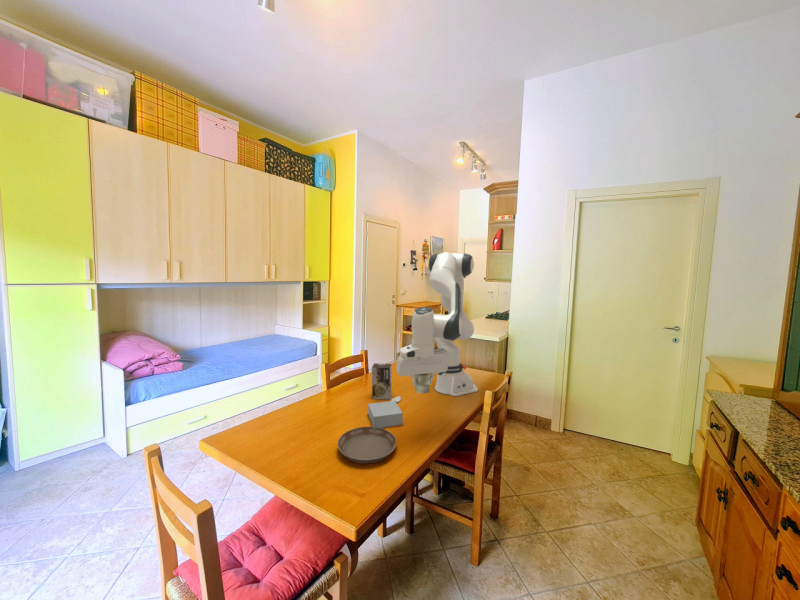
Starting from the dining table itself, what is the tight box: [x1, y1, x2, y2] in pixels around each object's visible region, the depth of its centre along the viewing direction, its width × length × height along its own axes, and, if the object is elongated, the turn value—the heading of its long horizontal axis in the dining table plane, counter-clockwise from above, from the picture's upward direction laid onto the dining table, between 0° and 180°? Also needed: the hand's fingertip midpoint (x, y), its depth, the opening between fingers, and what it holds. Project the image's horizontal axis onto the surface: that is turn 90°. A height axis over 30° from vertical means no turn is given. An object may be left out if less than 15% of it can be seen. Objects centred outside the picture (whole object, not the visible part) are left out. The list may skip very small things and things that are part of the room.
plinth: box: [367, 400, 404, 429], centre depth 132 cm, size 12×12×5 cm
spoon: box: [390, 395, 402, 403], centre depth 145 cm, size 4×21×2 cm, turn 147°
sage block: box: [414, 373, 431, 395], centre depth 122 cm, size 4×4×7 cm
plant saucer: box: [337, 426, 397, 464], centre depth 111 cm, size 21×21×3 cm
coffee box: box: [371, 363, 393, 400], centre depth 154 cm, size 9×6×16 cm
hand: (422, 384), depth 122 cm, fingers closed on sage block, 4 cm apart
